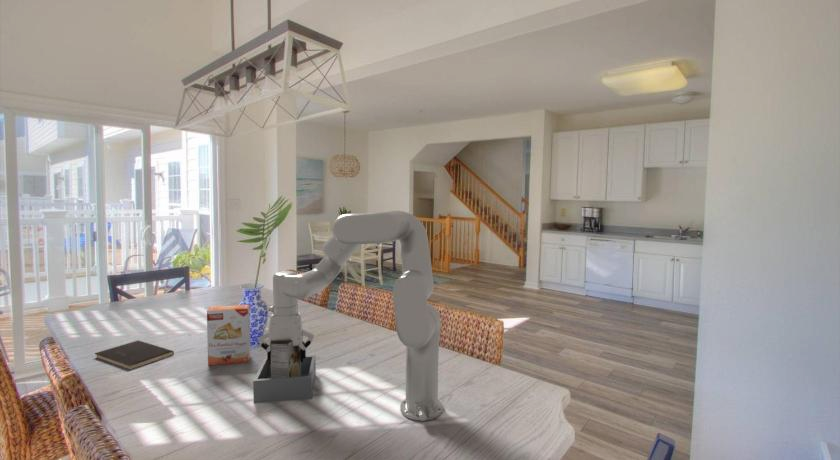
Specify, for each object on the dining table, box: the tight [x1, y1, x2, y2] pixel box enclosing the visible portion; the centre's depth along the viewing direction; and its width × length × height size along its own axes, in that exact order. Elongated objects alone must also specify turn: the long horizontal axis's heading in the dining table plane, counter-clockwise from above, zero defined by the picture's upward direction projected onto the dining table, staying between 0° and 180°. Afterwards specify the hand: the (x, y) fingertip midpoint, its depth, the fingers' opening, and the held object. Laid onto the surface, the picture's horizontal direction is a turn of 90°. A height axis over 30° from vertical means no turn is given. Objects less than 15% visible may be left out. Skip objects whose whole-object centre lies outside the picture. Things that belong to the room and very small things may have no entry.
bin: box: [252, 355, 317, 404], centre depth 131 cm, size 17×17×7 cm
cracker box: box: [206, 304, 251, 366], centre depth 151 cm, size 14×6×21 cm, turn 106°
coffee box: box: [270, 340, 301, 378], centre depth 131 cm, size 9×6×16 cm
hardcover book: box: [94, 339, 175, 370], centre depth 156 cm, size 16×23×2 cm
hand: (286, 361), depth 131 cm, fingers open, 9 cm apart
